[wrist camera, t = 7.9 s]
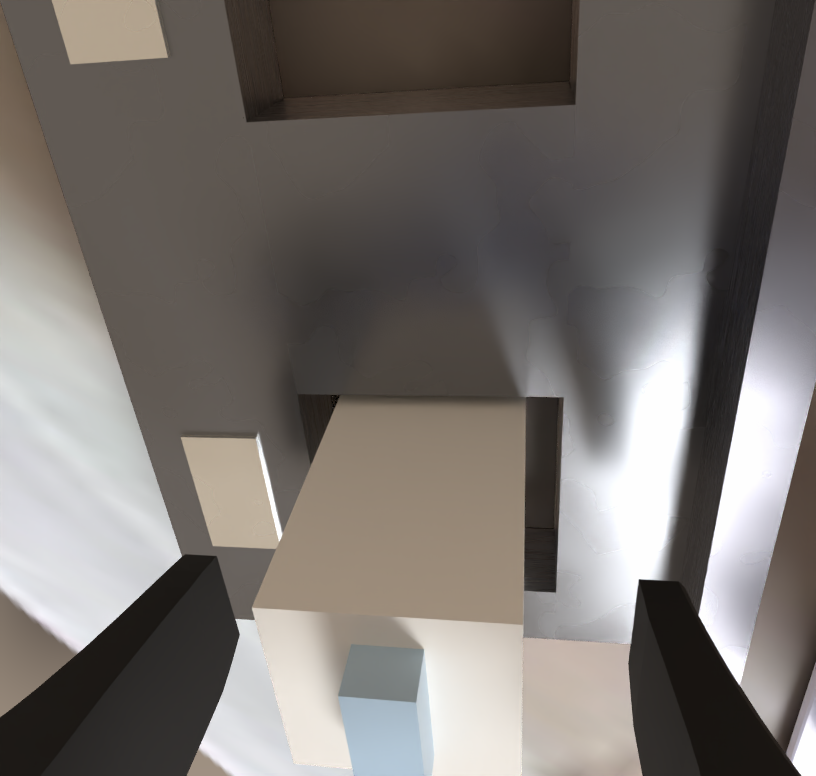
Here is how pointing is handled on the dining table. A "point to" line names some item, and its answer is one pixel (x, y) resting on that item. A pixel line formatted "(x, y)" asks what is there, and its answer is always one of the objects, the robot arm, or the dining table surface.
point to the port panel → (460, 275)
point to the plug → (404, 590)
